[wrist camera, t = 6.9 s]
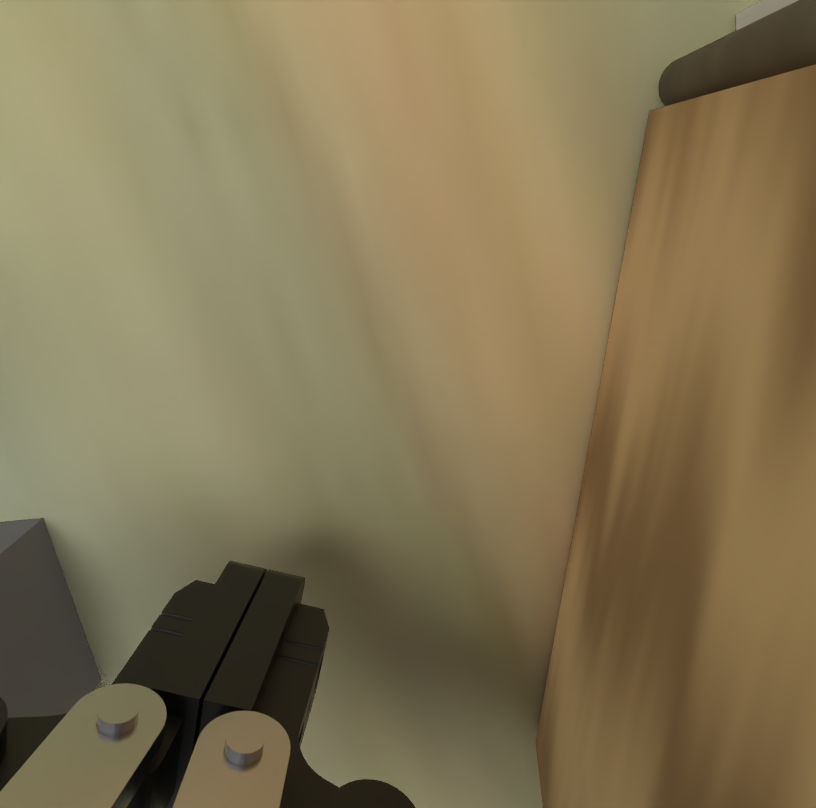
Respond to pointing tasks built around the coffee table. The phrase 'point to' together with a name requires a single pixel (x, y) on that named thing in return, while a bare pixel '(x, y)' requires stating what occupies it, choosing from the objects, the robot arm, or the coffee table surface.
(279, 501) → the coffee table surface
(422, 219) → the coffee table surface
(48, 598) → the grey cube-like block
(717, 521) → the door
